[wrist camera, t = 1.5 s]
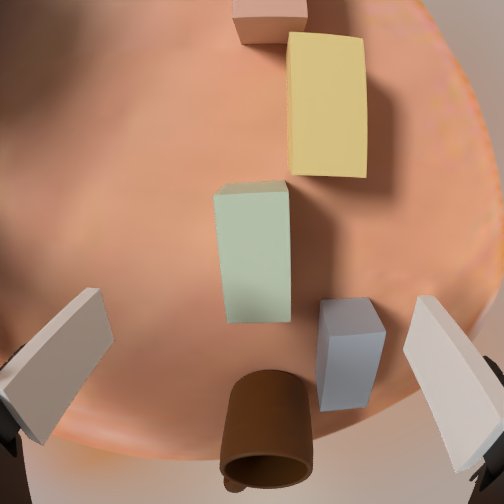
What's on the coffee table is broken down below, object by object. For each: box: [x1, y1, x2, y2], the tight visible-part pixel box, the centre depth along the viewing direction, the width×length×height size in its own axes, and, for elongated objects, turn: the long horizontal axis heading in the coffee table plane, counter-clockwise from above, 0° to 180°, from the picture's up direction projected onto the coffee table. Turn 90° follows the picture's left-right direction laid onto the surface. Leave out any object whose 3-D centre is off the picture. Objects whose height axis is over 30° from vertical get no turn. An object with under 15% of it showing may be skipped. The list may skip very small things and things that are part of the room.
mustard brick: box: [286, 32, 367, 178], centre depth 16 cm, size 8×4×5 cm, turn 1°
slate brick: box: [315, 297, 386, 412], centre depth 22 cm, size 8×4×5 cm, turn 3°
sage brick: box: [213, 181, 291, 323], centre depth 19 cm, size 8×4×5 cm, turn 4°
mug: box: [220, 370, 313, 493], centre depth 23 cm, size 12×8×9 cm, turn 154°
